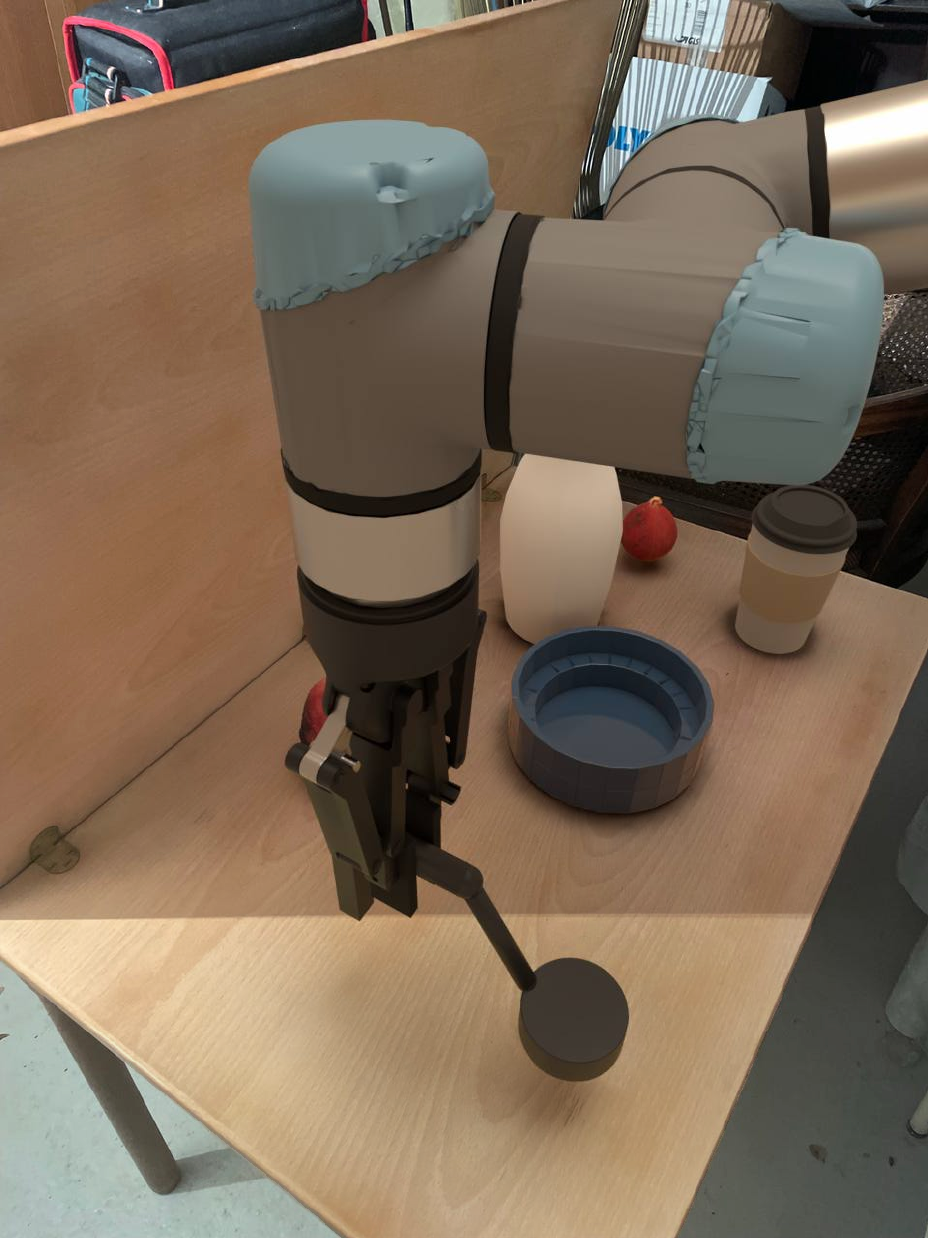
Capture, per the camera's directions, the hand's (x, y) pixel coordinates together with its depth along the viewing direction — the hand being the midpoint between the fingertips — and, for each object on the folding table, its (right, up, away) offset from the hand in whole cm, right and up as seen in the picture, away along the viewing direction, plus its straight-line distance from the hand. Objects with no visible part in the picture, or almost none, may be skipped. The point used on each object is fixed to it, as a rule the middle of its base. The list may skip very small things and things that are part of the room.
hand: (406, 885), depth 52 cm
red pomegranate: (+23, +21, +45) cm, 55 cm away
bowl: (+15, +5, +25) cm, 30 cm away
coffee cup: (+33, +14, +36) cm, 51 cm away
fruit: (-6, +4, +23) cm, 24 cm away
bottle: (+12, +15, +37) cm, 42 cm away
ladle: (+4, -6, +2) cm, 7 cm away
